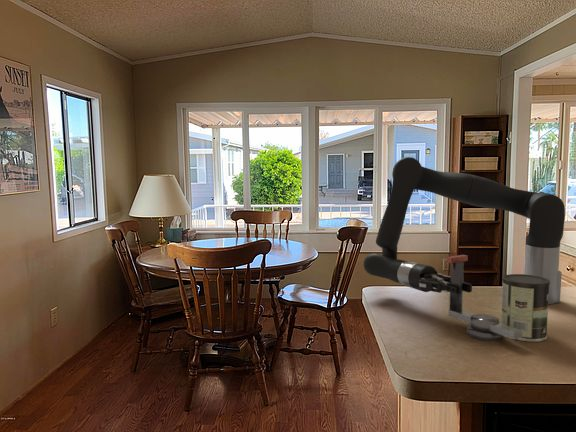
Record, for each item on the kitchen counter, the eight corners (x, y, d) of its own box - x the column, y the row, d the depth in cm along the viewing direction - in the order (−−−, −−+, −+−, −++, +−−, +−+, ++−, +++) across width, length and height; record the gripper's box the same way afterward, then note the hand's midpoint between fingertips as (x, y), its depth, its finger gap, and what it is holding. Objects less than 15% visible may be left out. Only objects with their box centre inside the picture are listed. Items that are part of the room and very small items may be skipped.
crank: (526, 337, 103) (530, 268, 101) (508, 342, 100) (511, 271, 98) (459, 313, 120) (461, 254, 119) (442, 317, 118) (443, 256, 116)
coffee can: (538, 328, 114) (541, 274, 113) (553, 343, 104) (557, 284, 103) (495, 325, 116) (497, 272, 115) (506, 340, 106) (509, 283, 105)
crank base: (508, 340, 106) (509, 334, 106) (477, 341, 105) (477, 335, 105) (490, 328, 114) (490, 322, 114) (460, 329, 113) (460, 323, 113)
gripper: (398, 266, 125) (447, 278, 110) (434, 260, 132) (484, 272, 117) (398, 292, 126) (446, 308, 111) (434, 285, 133) (483, 299, 118)
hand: (465, 289), depth 114 cm, fingers closed on crank, 3 cm apart
